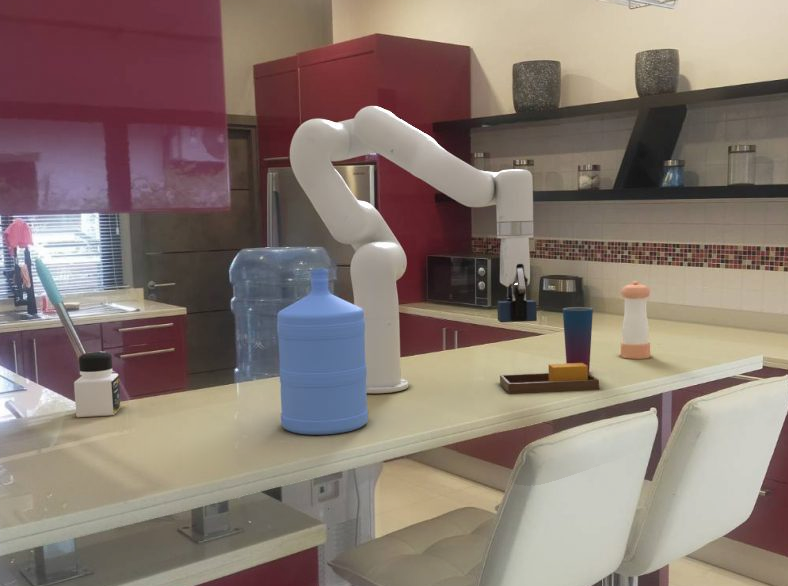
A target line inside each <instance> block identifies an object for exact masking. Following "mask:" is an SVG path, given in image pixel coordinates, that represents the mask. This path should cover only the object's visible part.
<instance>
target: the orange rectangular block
mask: <svg viewBox="0 0 788 586" xmlns="http://www.w3.org/2000/svg"><path fill="white" fill-rule="evenodd" d="M548 373H549V382H554V381H577V380H588V366H587V365H585V364H583V363H568V364H566V363H549V364H548Z"/></svg>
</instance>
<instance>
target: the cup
mask: <svg viewBox="0 0 788 586" xmlns="http://www.w3.org/2000/svg"><path fill="white" fill-rule="evenodd" d="M593 312H594V308H593V307H588V306H587V307H585V306H572V307H571V306H570V307H564V308H562V321H563V333H564V335H563V336H564V345H565V346H564V350H565V364H568V363H583V364H585V365H587V366H588V373H589V374H590V368H591V367H590V366H591V365H590V364H591V350H592V349H591V348H592V346H591V345H592V332H593V314H594V313H593Z"/></svg>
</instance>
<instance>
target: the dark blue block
mask: <svg viewBox="0 0 788 586" xmlns="http://www.w3.org/2000/svg"><path fill="white" fill-rule="evenodd" d="M526 301H527V320H523V321H512V320H511V301H507V300H498V301H496V302H497V303H496V304H497V305H496V306H497V321H498V322H499V323H520V322H521V323H525V322H537V321H538V317H537V316H538V315H537V314H538V312H537V309H538V308H537V301H536V300H534V299H526Z"/></svg>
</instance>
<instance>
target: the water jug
mask: <svg viewBox="0 0 788 586" xmlns="http://www.w3.org/2000/svg"><path fill="white" fill-rule="evenodd" d="M309 273H310V278H311V279H310V287H311V289H310V292H309V294H308V295H306V296H304V297H303V298H301V299H299V300H297V301H296V302H294V303H291V304H289V305H288V306H286V307H284V308H283V309H280V310H279V311H278V312H277V314H276V315H277V316H276V318H277V322H276V334H277V338H278V339H277V340H278V341H277V343H278V357H279V383H280V408H281V409H280V410H281V413H280V424H281V426H282V427H283V428H284V429H285V430H286V431H288V432H291V433H293V434H294V433H295V434H298V435H299V434H300V435H308V436H309V435H311V436H324V435H337V434H343V433H348V432H352V431H355V430H359V429H360V428H362V427H363V426H365V425H366V424H367V423H368V420H369V409H368V399H367V398H368V396H367V395H368V393H366V377H367V368H366V363H365V319H364V311H363V309H362V308H360V307H358V306H356V305H354V303H352V302H349V301H348V300H345V299H343V298H340V297H338V296H336V295H335V294H332V292H330V289H329V282H330V281H329V278H328V273H329V270H328V269H316V270H315V269H314V270H309Z"/></svg>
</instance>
